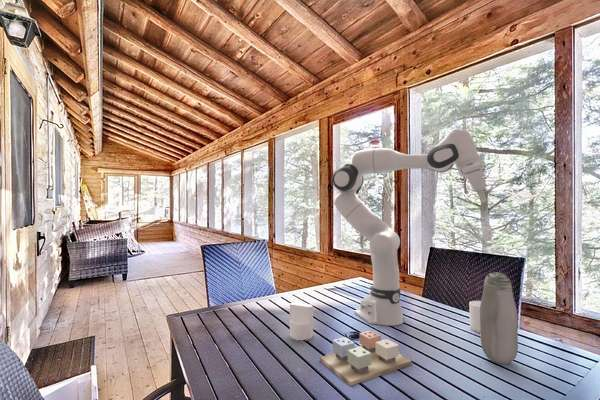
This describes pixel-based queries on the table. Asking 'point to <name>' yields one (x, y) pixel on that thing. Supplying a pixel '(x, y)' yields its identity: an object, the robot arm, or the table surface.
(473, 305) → the mug
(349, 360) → the tile two
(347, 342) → the tile three
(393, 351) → the tile one
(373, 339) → the tile four
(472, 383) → the table surface
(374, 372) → the board
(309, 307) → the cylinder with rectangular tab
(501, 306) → the grey tall rounded block
